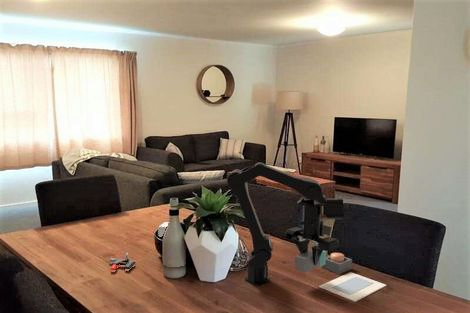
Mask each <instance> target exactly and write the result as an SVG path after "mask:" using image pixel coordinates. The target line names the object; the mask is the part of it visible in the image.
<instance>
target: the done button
mask: <svg viewBox="0 0 470 313" xmlns="http://www.w3.org/2000/svg"><path fill="white" fill-rule="evenodd" d="M330 256H331V260H332V261H335V262H338V263H340V262H343V261H344V257H345V254H343V253H341V252H332V253H330Z"/></svg>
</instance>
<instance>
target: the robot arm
mask: <svg viewBox="0 0 470 313" xmlns="http://www.w3.org/2000/svg"><path fill="white" fill-rule="evenodd" d="M258 177H261V178H264V179H268V180H270V181H273V182H275V183H278V184H281V185H283V186H285V187H288V188H290V189H293V190H295V192H297V193H298V194H300V195H302V196H301V198H300V199H299V200H297V205H298V206H303V208H302V220H300V225H302V228H300V227H297V226H294V227H290V228H288V229H286V231H285V232H284V234H285V238H286V239H288V240H292V241H293V243H294V244H295V245H296V247H297V249H298V251H299V253H300V254H302V253H305V252H308V250H309V244H310V242H312V243H315V245H314V246H312V247H311V250H312V255H313V262H314V265H317V263H318V261H319V258H320V256H321V254H322V252H323V251H325V252H330V251H333V250H336V249H339V248H340V243H339V240H338V239H337V238H334V237H331V232H332V228H333V227H332V226H329V225H324V221H323V220H321V215H322V216H324V217H325V219H326V220H329V219H330V220H331V219H332V220H344V218H345V209H344V207H345V206H344V199H343V198H341V197H337V198H331V197H330V198H329V197H328V198H327V197H326V195H325V194H324V193H323V192H322V191H323V188H322V187H321V184H320V182H319V181H318V180H316V179H312V178H308V177H301V176H296V175H292V174H290V173H288V172H285V171H282V170H279V169H277V168H275V167H273V166H270V165H268V164H265V163H264V162H256V163H255V164H252V165H251V166H247V167H245V168H242V169H233V170H232V171H231V172H230V174H228V176H227V179H226V182H227V186H228V187H229V188H230V190H231V192H232V194H233V195H234V196H235V198H236V199H237V201H238V202H239V206H240V209H241V211H242V214H243V216H244V219H245V221H246V225H247V228H248V231H249V233H250V236H251V239H252V247H253V248H252V251H250V252H249V258H248V263H247V277H245V278H244V281H246V282H249V283H251V284H252V285H256V286H260V285H263V284H265V283H268V282H270V281H271V278H269V277H268V276H269V274H268V273H269V271H268V270H269V268H268V267H269V266H268V262H269V261H270V260H271V259H272V256H273V255H272V254H273V250H274V243H273V241H272V239H271V235H270V234H269V233H268V234H265V233H264V231H263V229H262V226H261V223H260V221H259V217H258V215H257V212H256V210H255V207H254V205H253V202H252V199H251V197H250V194H249V187H248V186H249V185H248V183H249V182H251V181H252V180H254V179H256V178H258ZM321 211H322V214H321ZM325 235H327V237H325ZM322 237H323V238H322ZM293 239H294V240H293Z"/></svg>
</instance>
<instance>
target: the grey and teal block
mask: <svg viewBox="0 0 470 313" xmlns="http://www.w3.org/2000/svg"><path fill="white" fill-rule="evenodd" d="M326 254H327V251H325V250H323V252H322V254H321V256H320V258H319V261H318V263H317V265H314V262H313V255H312V249H311V250H309V251H308V252H305V253H302V254H301V253H300V254H297V255H294V256H295V257H294V258H295V260H294V270H297V271H299V272H302V273H307V272H310V271H312V270H314V269H316V268H319V267H320V268H321V267H322V265H325V263H326V257H327V255H326Z"/></svg>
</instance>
